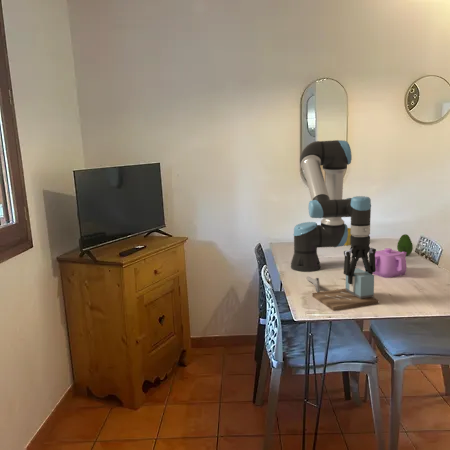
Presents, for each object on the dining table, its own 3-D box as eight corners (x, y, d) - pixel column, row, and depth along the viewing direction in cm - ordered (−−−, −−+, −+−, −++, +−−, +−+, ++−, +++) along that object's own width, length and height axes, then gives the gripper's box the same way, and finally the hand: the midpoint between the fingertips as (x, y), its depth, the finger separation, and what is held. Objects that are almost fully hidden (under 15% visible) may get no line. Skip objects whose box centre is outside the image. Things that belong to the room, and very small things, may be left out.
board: (312, 296, 180) (312, 293, 180) (354, 290, 186) (354, 287, 185) (333, 310, 164) (333, 306, 164) (378, 303, 170) (378, 299, 169)
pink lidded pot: (368, 277, 204) (369, 251, 201) (369, 267, 219) (370, 243, 217) (407, 279, 198) (408, 253, 195) (405, 269, 213) (406, 245, 211)
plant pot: (357, 243, 272) (357, 228, 271) (352, 246, 264) (352, 231, 262) (340, 241, 278) (341, 227, 276) (335, 245, 269) (336, 230, 267)
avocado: (405, 253, 244) (406, 232, 242) (415, 256, 237) (416, 234, 235) (393, 254, 242) (394, 233, 240) (403, 257, 234) (404, 236, 232)
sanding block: (345, 290, 181) (345, 269, 179) (357, 288, 182) (358, 268, 181) (360, 298, 170) (360, 277, 169) (373, 296, 172) (374, 275, 170)
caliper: (319, 292, 185) (319, 278, 184) (317, 293, 185) (317, 279, 184) (308, 278, 205) (308, 266, 204) (305, 278, 205) (305, 266, 204)
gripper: (344, 239, 166) (343, 296, 170) (386, 234, 171) (384, 289, 175) (334, 235, 173) (333, 290, 177) (375, 231, 178) (373, 284, 182)
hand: (359, 289), depth 176 cm, fingers closed on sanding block, 6 cm apart
